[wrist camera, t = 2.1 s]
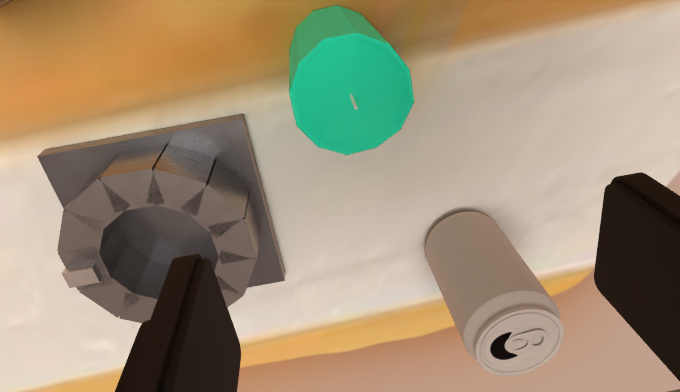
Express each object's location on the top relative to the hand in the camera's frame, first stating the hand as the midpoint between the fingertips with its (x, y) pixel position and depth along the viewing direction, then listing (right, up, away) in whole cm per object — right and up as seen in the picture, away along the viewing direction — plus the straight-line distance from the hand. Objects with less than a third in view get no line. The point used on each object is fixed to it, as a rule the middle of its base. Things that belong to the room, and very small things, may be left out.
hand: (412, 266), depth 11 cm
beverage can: (+8, -2, +29) cm, 30 cm away
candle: (-2, +11, +21) cm, 24 cm away
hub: (-14, 0, +26) cm, 29 cm away
